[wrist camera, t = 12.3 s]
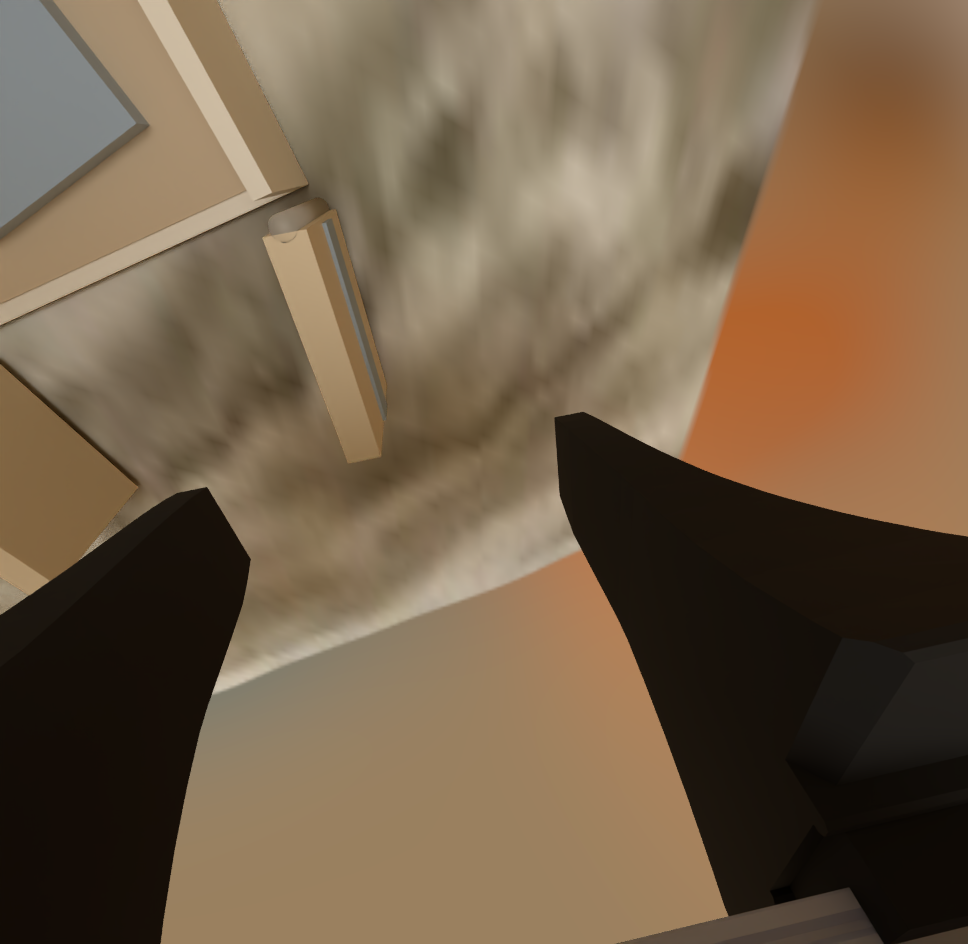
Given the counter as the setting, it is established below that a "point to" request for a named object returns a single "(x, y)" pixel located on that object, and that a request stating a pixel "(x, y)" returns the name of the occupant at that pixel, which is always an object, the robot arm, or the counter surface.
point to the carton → (154, 152)
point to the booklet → (52, 109)
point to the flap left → (48, 490)
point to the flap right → (331, 322)
